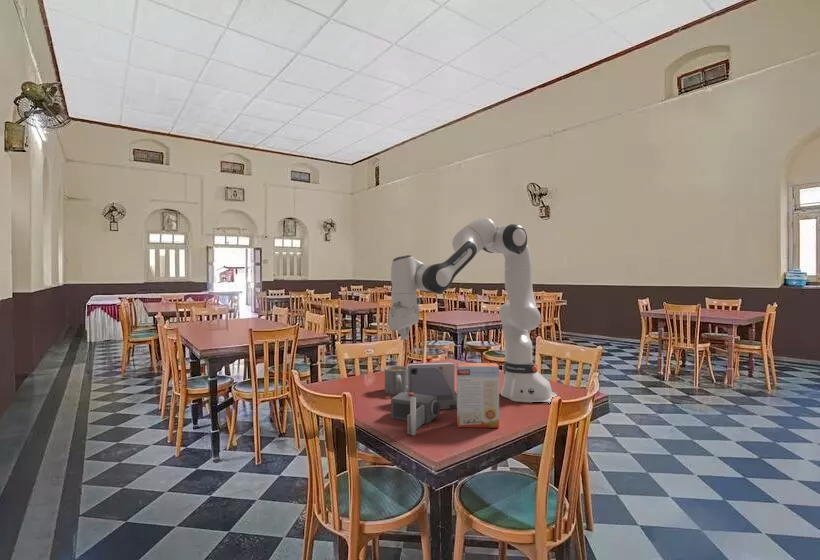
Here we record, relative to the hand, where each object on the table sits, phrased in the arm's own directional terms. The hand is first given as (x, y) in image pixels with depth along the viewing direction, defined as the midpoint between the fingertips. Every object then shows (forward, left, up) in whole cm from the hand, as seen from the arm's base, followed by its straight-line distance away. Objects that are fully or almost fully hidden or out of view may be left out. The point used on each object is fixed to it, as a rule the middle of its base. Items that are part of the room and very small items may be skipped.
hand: (404, 339), depth 157 cm
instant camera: (-3, -19, -28) cm, 34 cm away
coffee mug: (+16, -26, -28) cm, 41 cm away
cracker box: (-26, -2, -28) cm, 38 cm away
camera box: (-3, -1, -28) cm, 28 cm away
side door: (-9, +10, -28) cm, 31 cm away
